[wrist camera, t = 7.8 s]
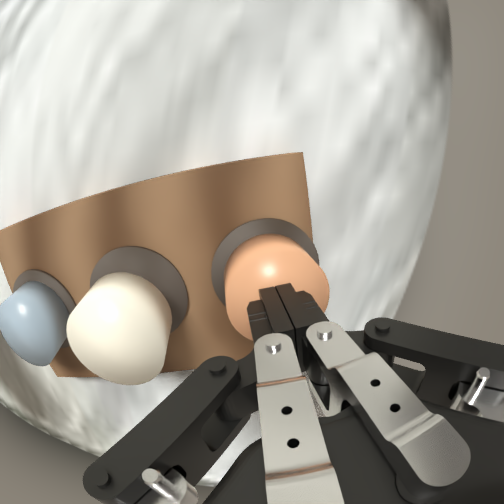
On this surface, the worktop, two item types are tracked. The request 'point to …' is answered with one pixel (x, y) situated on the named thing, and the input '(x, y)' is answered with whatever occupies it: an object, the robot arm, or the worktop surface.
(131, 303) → the button cream
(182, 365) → the board
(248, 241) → the button terracotta
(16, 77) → the worktop surface
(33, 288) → the button slate
